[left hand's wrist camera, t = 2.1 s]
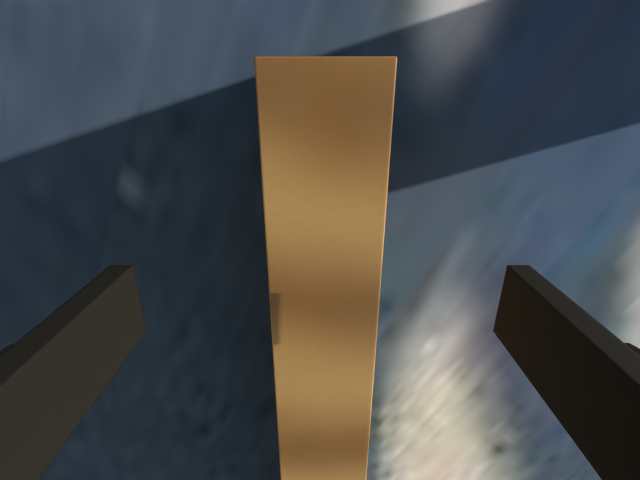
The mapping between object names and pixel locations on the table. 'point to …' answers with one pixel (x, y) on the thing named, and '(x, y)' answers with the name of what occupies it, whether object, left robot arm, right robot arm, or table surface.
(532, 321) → the left robot arm
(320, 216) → the bar
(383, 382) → the table surface
